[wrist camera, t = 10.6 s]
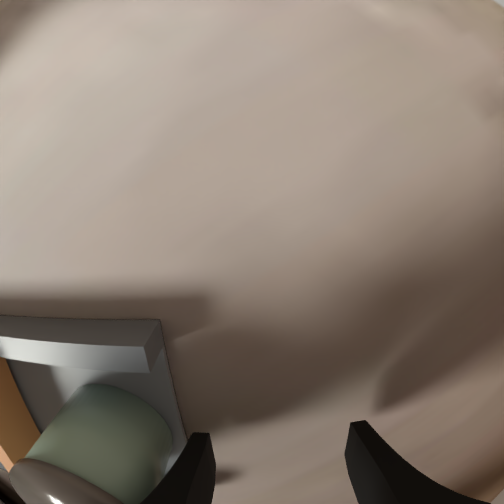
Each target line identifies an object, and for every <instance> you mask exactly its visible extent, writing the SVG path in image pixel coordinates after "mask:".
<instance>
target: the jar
mask: <svg viewBox="0 0 504 504" xmlns="http://www.w3.org/2000/svg"><path fill="white" fill-rule="evenodd" d="M172 447H173V438H172V434H171V431H170V429H169V427H168V425H167V423H166V422H165V420H164V419H163V418H162V417H161V415H160V414H159V413H158V412H157V411H156V410H155V409H154V408H152V407H151V406H150V405H149V404H147V403H146V402H145V401H143V400H142V399H140V398H139V397H137V396H135V395H133V394H131V393H130V392H128V391H125V390H123V389H120V388H117V387H114V386H110V385H106V384H88V385H84V386H81V387H80V388H78V389H77V390H75V391H74V392H73V394H72V395H71V396H70V398H69V399H68V400H67V401H66V403H65V404H64V405H63V407H62V408H61V409H60V411H59V412H58V413H57V414H56V416H55V417H54V418H53V420H52V421H51V422H50V424H49V425H48V426H47V428H46V429H45V430H44V432H43V433H42V434H41V436H40V437H39V438H38V440H37V441H36V443H35V444H34V445H33V447H32V448H31V449H30V451H29V452H28V453H27V455H26V456H25V458H22V459H19V460H18V461H16V463H15V464H14V466H13V467H12V468H11V470H10V472H9V479H10V482H11V484H12V486H13V488H14V489H15V491H16V492H17V493H18V495H19V496H20V497H21V498H22V500H23V501H24V502H25V503H26V504H140V503H141V502H142V501H143V500H144V499H145V498H146V497H147V496H148V495H149V494H150V493H151V492H152V491H153V490H154V489H155V487H156V486H157V485H158V484H159V483H160V481H161V480H162V479H163V477H164V474H165V470H166V467H167V463H168V460H169V457H170V453H171V450H172Z"/></svg>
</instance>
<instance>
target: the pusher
mask: <svg viewBox="0 0 504 504" xmlns="http://www.w3.org/2000/svg"><path fill="white" fill-rule="evenodd" d="M40 436H41V434H40V432H39V430H38V428H37V426H36V425H35V423H34V421H33V419H32V417H31V415H30V413H29V411H28V409H27V407H26V405H25V403H24V401H23V399H22V397H21V394H20V392H19V390H18V388H17V386H16V383H15V381H14V379H13V376H12V374H11V371H10V369H9V367H8V364H7V361H6V359H5V358H3V357H0V462H1V463H2V464H3V466H4V467H5V468H6V470H7V471H8V473H9V472H10V470H11V468H12V467H13V466H14V464H15V463H16V461H18V460H19V459H22V458H25V456H26V455H27V453H28V452H29V451H30V449H31V448H32V447H33V445H34V444H35V443H36V441H37V440H38V438H39V437H40Z"/></svg>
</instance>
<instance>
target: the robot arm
mask: <svg viewBox="0 0 504 504" xmlns="http://www.w3.org/2000/svg"><path fill="white" fill-rule="evenodd" d="M345 459H346V465H347V469H348V474H349V477H350V480H351V483H352V486H353V489H354V492H355V495H356V498H357V500H358V503H359V504H491V503H488V502H484V501H480V500H476V499H473V498H470V497H467V496H464V495H462V494H459V493H457V492H454V491H452V490H450V489H448V488H446V487H444V486H442V485H440V484H438V483H437V482H435V481H433V480H432V479H430V478H428V477H427V476H425V475H424V474H422V473H421V472H419V471H418V470H417V469H415V468H414V467H413V466H412V465H410V464H409V463H408V462H407V461H405V460H404V459H403V458H402V457H401V456H400V455H399V454H398V453H397V452H395V451H394V450H393V449H392V448H391V447H390V446H389V445H388V444H387V443H386V442H385V441H384V440H383V439H382V438H381V437H380V436H379V434H378V433H377V432H376V431H375V430H374V429H373V428H372V427H371V426H370V424H369V423H368V422H367V421H366V420H362V421H357V422H351V423H350V428H349V433H348V439H347V444H346V449H345ZM215 471H216V462H215V458H214V453H213V448H212V444H211V439H210V434H209V433H199V432H194V433H192V434H191V436H190V438H189V440H188V442H187V444H186V445H185V447H184V449H183V451H182V452H181V454H180V455H179V457H178V458H177V460H176V461H175V463H174V464H173V466H172V467H171V469H170V470H169V471H168V473H167V474H166V475H165V476H164V478H163V479H162V480H161V481H160V483H159V484H158V485H157V486H156V487H155V489H154V490H153V491H152V492H151V493H150V494H149V495H148V496H147V497H146V498H145V499H144V500H143V501H142V502H141V503H140V504H211V503H212V498H213V492H214V486H215Z"/></svg>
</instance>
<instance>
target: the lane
mask: <svg viewBox="0 0 504 504" xmlns="http://www.w3.org/2000/svg"><path fill="white" fill-rule="evenodd" d="M0 357H3V358H5V359H6V361H7V364H8V367H9V369H10V371H11V374H12V376H13V379H14V381H15V383H16V386H17V388H18V390H19V392H20V394H21V397H22V399H23V401H24V403H25V405H26V407H27V409H28V411H29V413H30V415H31V417H32V419H33V421H34V423H35V425H36V426H37V428H38V430H39V432H40V434H42V433H43V432H44V430H45V429H46V428H47V426H48V425H49V424H50V422H51V421H52V420H53V418H54V417H55V416H56V414H57V413H58V412H59V411H60V409H61V408H62V407H63V405H64V404H65V403H66V401H67V400H68V399H69V398H70V396H71V395H72V394H73V392H74V391H75V390H77V389H78V388H80V387H81V386H84V385H88V384H106V385H110V386H114V387H117V388H120V389H123V390H125V391H128V392H130V393H131V394H133V395H135V396H137V397H139V398H140V399H142V400H143V401H145V402H146V403H147V404H149V405H150V406H151V407H152V408H154V409H155V410H156V411H157V412H158V413H159V414H160V415H161V417H162V418H163V419H164V420H165V422H166V423H167V425H168V427H169V429H170V431H171V434H172V438H173V447H172V450H171V453H170V457H169V460H168V463H167V467H166V470H165V474H164V476H165V475H166V474H167V473H168V471H169V470H170V469H171V467H172V466H173V464H174V463H175V461H176V460H177V458H178V457H179V455H180V454H181V452H182V451H183V449H184V447H185V445H186V444H187V438H186V435H185V431H184V427H183V423H182V420H181V416H180V412H179V408H178V404H177V400H176V395H175V391H174V387H173V383H172V378H171V374H170V369H169V364H168V360H167V355H166V350H165V345H164V340H163V335H162V329H161V324H160V320H99V319H62V318H39V317H21V316H6V315H0ZM0 468H1V469H3V470H5V471H7V470H6V468H5V467H4V466H3V464H2V463H1V462H0ZM163 478H164V477H163Z"/></svg>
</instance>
